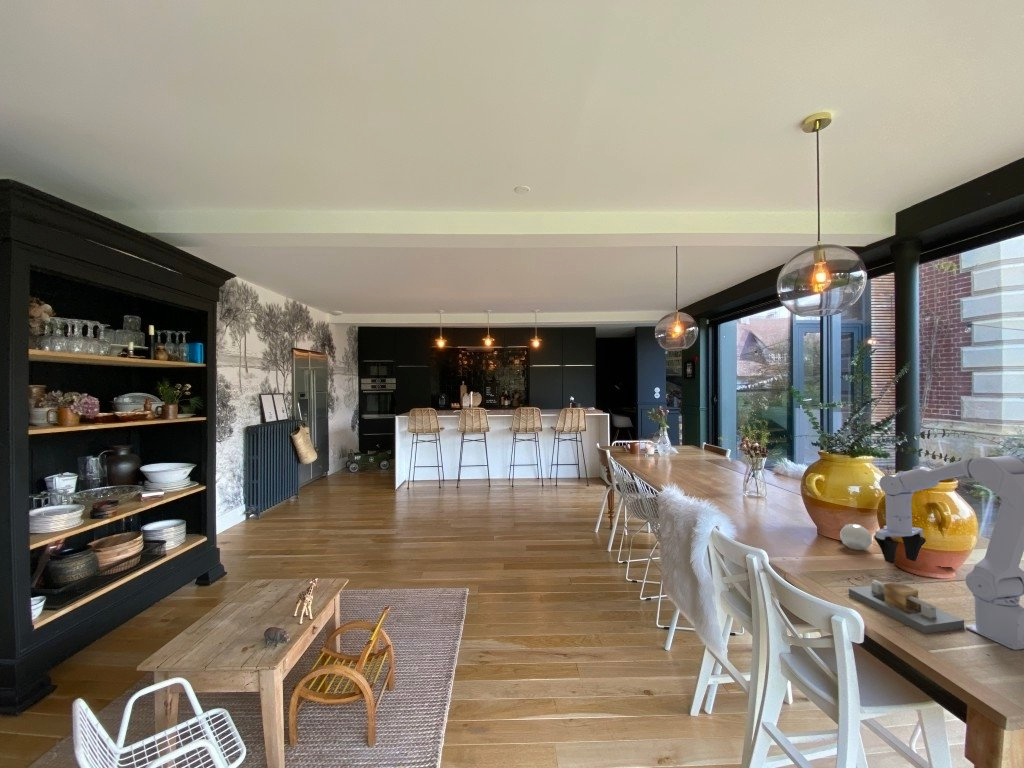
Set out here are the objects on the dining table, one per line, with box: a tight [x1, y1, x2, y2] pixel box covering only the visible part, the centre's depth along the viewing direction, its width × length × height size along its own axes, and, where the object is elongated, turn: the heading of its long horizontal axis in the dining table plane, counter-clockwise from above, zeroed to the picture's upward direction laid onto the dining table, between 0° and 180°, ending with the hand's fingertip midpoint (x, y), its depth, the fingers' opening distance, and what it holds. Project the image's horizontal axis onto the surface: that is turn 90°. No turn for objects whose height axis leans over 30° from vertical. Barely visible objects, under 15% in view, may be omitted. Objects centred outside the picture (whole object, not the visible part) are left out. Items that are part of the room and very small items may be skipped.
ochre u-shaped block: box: [883, 581, 919, 612], centre depth 116 cm, size 5×5×5 cm
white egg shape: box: [839, 523, 873, 551], centre depth 161 cm, size 9×10×15 cm
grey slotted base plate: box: [848, 579, 965, 634], centre depth 116 cm, size 20×12×5 cm, turn 9°
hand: (900, 561), depth 125 cm, fingers open, 7 cm apart
